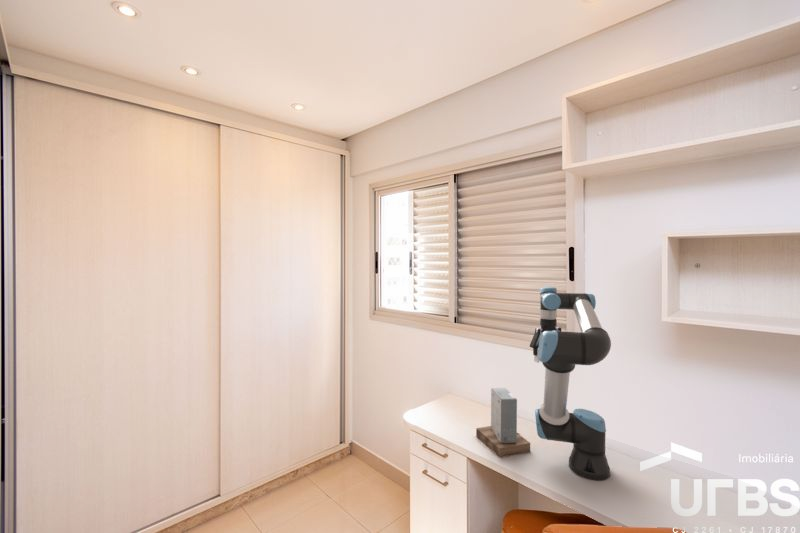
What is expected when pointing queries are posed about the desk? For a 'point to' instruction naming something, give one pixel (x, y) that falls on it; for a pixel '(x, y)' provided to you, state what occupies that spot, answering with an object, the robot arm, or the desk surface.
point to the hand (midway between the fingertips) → (548, 360)
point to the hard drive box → (504, 415)
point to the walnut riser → (502, 448)
